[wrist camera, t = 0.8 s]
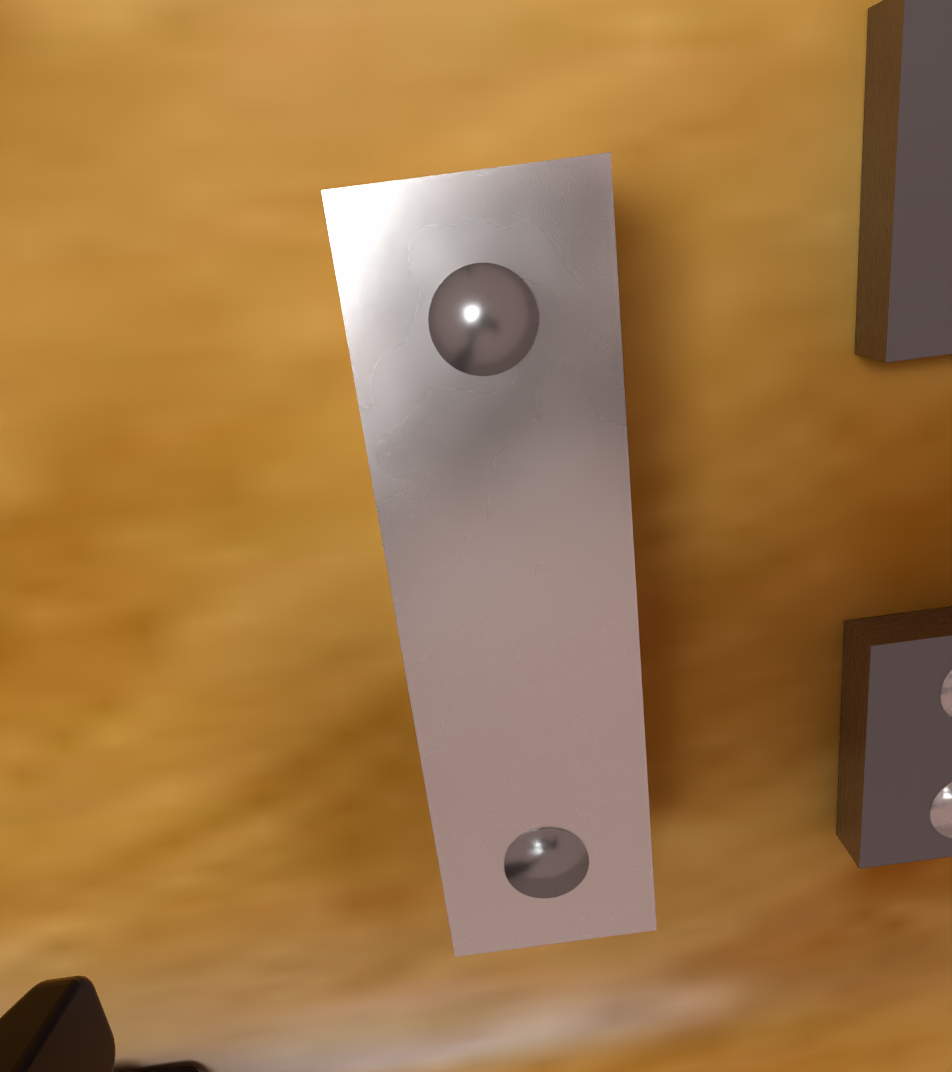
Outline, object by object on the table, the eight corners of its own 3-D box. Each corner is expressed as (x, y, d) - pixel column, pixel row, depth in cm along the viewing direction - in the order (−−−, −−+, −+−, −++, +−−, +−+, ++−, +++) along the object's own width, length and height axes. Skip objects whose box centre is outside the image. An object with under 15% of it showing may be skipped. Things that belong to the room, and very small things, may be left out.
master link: (614, 797, 20) (656, 932, 16) (451, 819, 20) (455, 959, 16) (566, 173, 15) (610, 152, 11) (350, 201, 15) (321, 189, 11)
